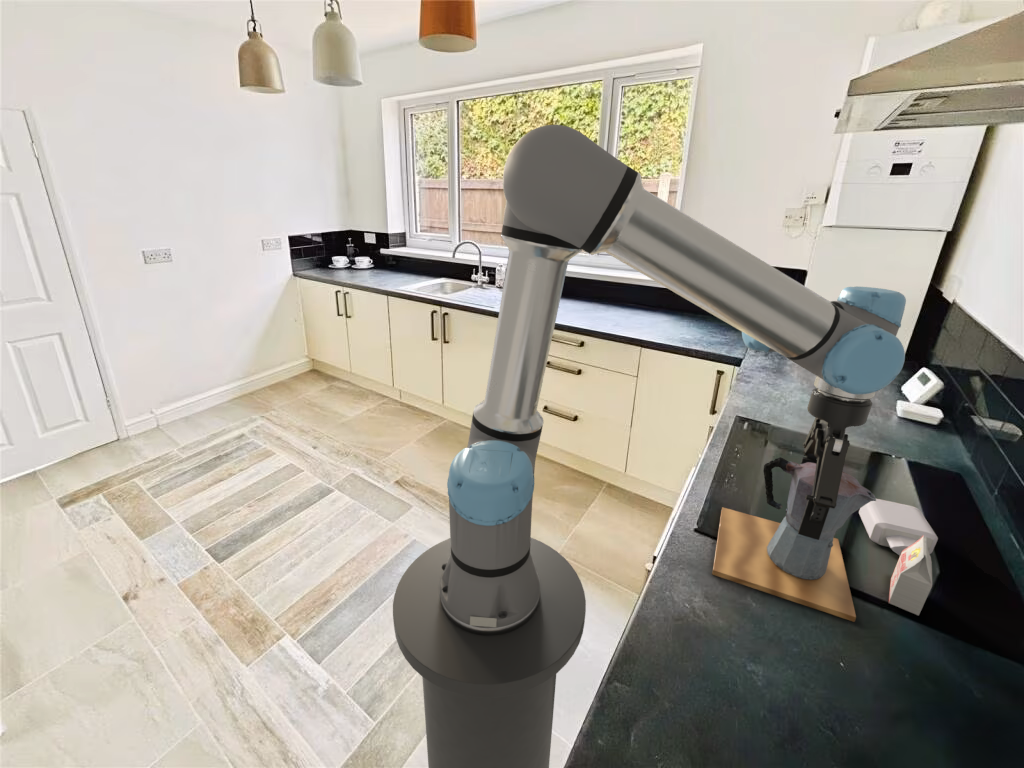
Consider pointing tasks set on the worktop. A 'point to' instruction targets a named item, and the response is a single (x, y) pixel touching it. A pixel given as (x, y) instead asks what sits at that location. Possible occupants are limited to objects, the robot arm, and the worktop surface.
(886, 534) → the charger
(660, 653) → the worktop surface
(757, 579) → the trivet
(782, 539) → the moka pot
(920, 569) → the white printed carton
